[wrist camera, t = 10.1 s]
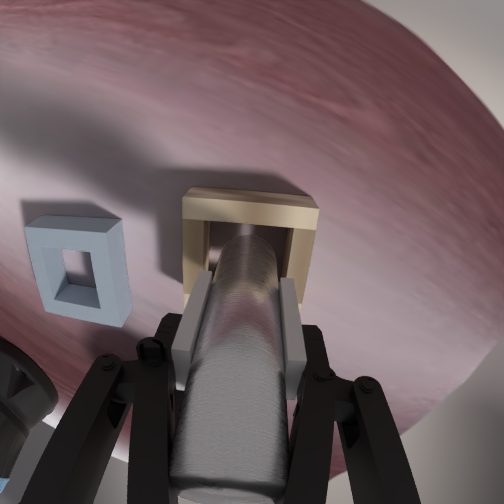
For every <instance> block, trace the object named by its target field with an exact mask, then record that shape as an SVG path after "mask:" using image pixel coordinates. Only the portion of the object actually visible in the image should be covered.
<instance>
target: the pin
mask: <svg viewBox="0 0 504 504" xmlns="http://www.w3.org/2000/svg"><path fill="white" fill-rule="evenodd" d="M289 465H290V456H289V436H288V417H287V400H286V384H285V368H284V354H283V339H282V326H281V313H280V300H279V288H278V276H277V264H276V256H275V252H274V250H273V248H272V247H271V246H270V244H269V243H268V242H266V241H265V240H263V239H262V238H260V237H257V236H253V235H242V236H238V237H235V238H233V239H231V240H230V241H229V242H227V243H226V244H225V246H224V247H223V249H222V251H221V254H220V257H219V261H218V264H217V268H216V272H215V275H214V279H213V282H212V286H211V290H210V293H209V297H208V301H207V304H206V308H205V312H204V315H203V319H202V323H201V327H200V331H199V334H198V338H197V342H196V346H195V350H194V354H193V358H192V362H191V366H190V369H189V373H188V377H187V381H186V386H185V390H184V394H183V398H182V402H181V406H180V410H179V414H178V419H177V423H176V427H175V432H174V436H173V440H172V445H171V449H170V456H169V476H168V477H169V479H170V481H171V483H172V486H173V488H174V490H175V492H176V494H177V495H178V496H180V497H182V498H185V499H188V500H191V501H194V502H197V503H202V504H276V503H277V501H278V500H279V498H280V497H281V495H282V493H283V492H284V490H285V489H286V487H287V480H288V473H289Z"/></svg>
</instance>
